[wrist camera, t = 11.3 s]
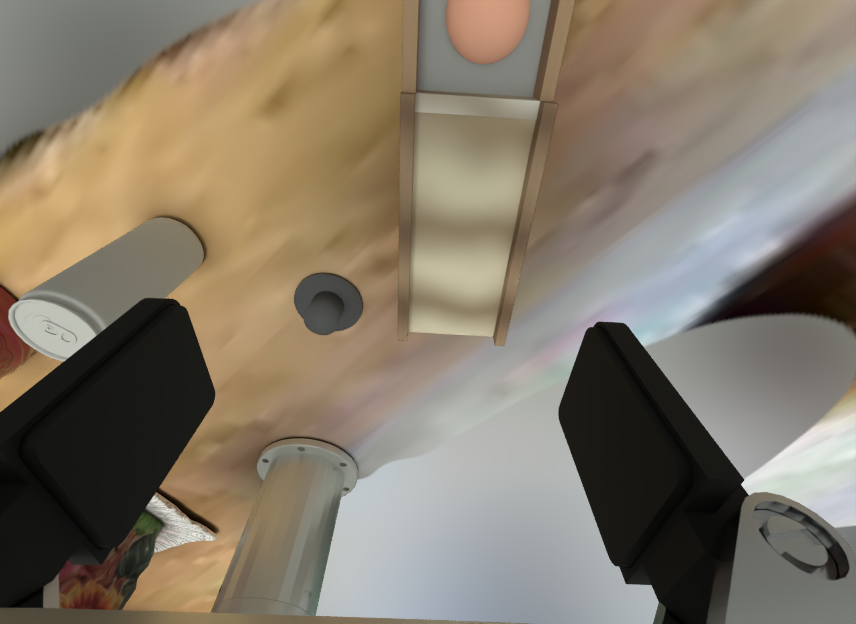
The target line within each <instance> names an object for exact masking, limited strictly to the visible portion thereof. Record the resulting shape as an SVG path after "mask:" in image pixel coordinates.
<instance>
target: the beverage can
mask: <svg viewBox="0 0 856 624" xmlns="http://www.w3.org/2000/svg"><path fill="white" fill-rule="evenodd" d="M203 259H204V252H203V248H202V245H201V243H200V241H199V239H198V237H197V236H196V235H195V234H194V232H193V231H192V230H191V229H189V228H188V227H187V226H186V225H184V224H182V223H180V222H179V221H176V220H173V219H170V218H162V217H159V218H153V219H151V220H149V221H147V222H145V223H143V224H142V225H140V226H138V227H137V228H135V229H133V230H132V231H130V232H128V233H127V234H125V235H123V236H121V237H120V238H118V239H116V240H115V241H113V242H111V243H110V244H108V245H106V246H105V247H103V248H101V249H100V250H98V251H96V252H95V253H93V254H91V255H89V256H88V257H86V258H84V259H83V260H81V261H79V262H78V263H76V264H74V265H73V266H71V267H69V268H68V269H66V270H64V271H63V272H61V273H59V274H57V275H56V276H54V277H52V278H51V279H49V280H47V281H46V282H44V283H42V284H41V285H39V286H37V287H36V288H34V289H32V290H30V291H29V292H27V293H25V294H24V295H22V297H21V298H20V299H19V301H18V302H16V303H14V304H13V305H12V307H11V308H10V309H9V316H8V318H9V321H10V324H11V326H12V328H13V329H14V331H15V332H16V334H17V335H18V336H19V337H20V338H21V339H22V340H23V341H24V342H25V343H27V344H28V345H29V346H31V347H32V348H34V349H35V350H37V351H39V352H40V353H42V354H44V355H46V356H49V357H51V358H54V359H56V360H60V361H65V360H67V359H68V358H69V357H70V356H72V355H73V354H74V353H75V352H77V351H78V350H79V349H80V348H82V347H83V346H84V345H85V344H87V343H88V342H89V341H90V340H92V339H93V338H94V337H95V336H97V335H98V334H99V333H100V332H102V331H103V330H104V329H105V328H107V327H108V326H109V325H110V324H112V323H113V322H114V321H115V320H117V319H118V318H119V317H120V316H122V315H123V314H124V313H125V312H127V311H128V310H129V309H130V308H132V307H133V306H134V305H135V304H137V303H138V302H139V301H140V300H142V299H144V298H164V299H165V298H166V297H167V296H168V295H169V294H170V293H171V292H172V291H173V290H175V289H176V288H177V287H178V286H179V285H180V284H181V283H182V282H183V281H184V280H185V279H187V278H188V277H189V276H190V275H191V274H192V273H193V272H194V271H195V270H196V269H197V268H198V267H199V266H200V265H201V264H202V262H203Z"/></svg>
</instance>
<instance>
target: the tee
mask: <svg viewBox="0 0 856 624" xmlns="http://www.w3.org/2000/svg"><path fill="white" fill-rule="evenodd" d="M294 303H295V307H296V309H297V311H298V313H299V314H300V315H301V317H302V318H303V319H304V323H305V325H306V327H307V328H308V329H309V330H310V331H312V332H313V333H316V334H319V335H328V334H331V333H333V332H334V331H341V330H345V329H347V328H349V327H351V326H353V325H354V324H355V323H356V322H357V321H358V319H359V318H360V315H361V312H362V307H363V304H362V298H361V296H360V293H359V292H358V290H357V289H356V288H355V286H354V285H353V284H352V283H350V282H349V281H348V280H346V279H345V278H343V277H340V276H338V275H335V274H331V273H317V274H313V275H310V276H308V277H306V278H305V279H304V280H302V281H301V283H300V284H299V285H298V287H297V289H296V291H295V295H294Z"/></svg>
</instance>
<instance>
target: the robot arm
mask: <svg viewBox="0 0 856 624" xmlns="http://www.w3.org/2000/svg"><path fill="white" fill-rule="evenodd" d="M214 400H215V389H214V386H213V383H212V380H211V378H210V375H209V372H208V369H207V366H206V363H205V360H204V357H203V354H202V352H201V349H200V346H199V343H198V340H197V337H196V334H195V331H194V328H193V325H192V323H191V320H190V317H189V314H188V311H187V309H186V308H185V307H184V306H180V304H179V303H178V302H177V301H176V300H174V299H164V298H144V299H142V300H140V301H139V302H138V303H137V304H135V305H134V306H133V307H132V308H130V309H129V310H128V311H127V312H125V313H124V314H123V315H122V316H120V317H119V318H118V319H117V320H115V321H114V322H113V323H112V324H110V325H109V326H108V327H107V328H105V329H104V330H103V331H102V332H100V333H99V334H98V335H97V336H95V337H94V338H93V339H92V340H90V341H89V342H88V343H87V344H85V345H84V346H83V347H82V348H80V349H79V350H78V351H77V352H75V353H74V354H73V355H72V356H70V357H69V358H68V359H67V360H65V361H64V362H63V363H62V364H60V365H59V366H58V367H57V368H55V369H54V370H53V371H52V372H50V373H49V374H48V375H47V376H45V377H44V378H43V379H42V380H40V381H39V382H38V383H37V384H35V385H34V386H33V387H32V388H30V389H29V390H28V391H27V392H25V393H24V394H23V395H21V396H20V397H19V398H18V399H16V400H15V401H14V402H13V403H11V404H10V405H9V406H8V407H6V408H5V409H4V410H3V411H1V412H0V624H527V623H500V622H475V621H473V622H472V621H448V620H420V619H391V618H389V619H388V618H359V617H330V616H316V610H317V606H318V602H319V597H320V592H321V588H322V583H323V578H324V574H325V569H326V565H327V560H328V555H329V551H330V546H331V541H332V537H333V532H334V527H335V522H336V518H337V514H338V509H339V504H340V499H341V497H342V496H345V495H346V494H348V493H349V492H351V490H352V489H353V488H354V487H355V485H356V483H357V477H358V469H357V466H356V464H355V462H354V461H353V460H352V458H351V457H350V456H349V455H347V454H346V453H345V452H344V451H342V450H340V449H339V448H337V447H335V446H333V445H331V444H328V443H325V442H322V441H318V440H312V439H303V438H294V439H286V440H281V441H278V442H275V443H273V444H271V445H269V446H267V447H266V448H265V449H264V450H263V451H262V453H261V455H260V457H259V459H258V462H257V471H258V474H259V476H260V477H261V479H262V480H263V484H262V486H261V489H260V491H259V494H258V496H257V499H256V501H255V504H254V506H253V508H252V511H251V513H250V516H249V518H248V521H247V523H246V526H245V528H244V531H243V533H242V536H241V538H240V541H239V543H238V546H237V548H236V551H235V553H234V556H233V558H232V560H231V563H230V565H229V568H228V570H227V573H226V575H225V578H224V580H223V583H222V585H221V588H220V590H219V593H218V595H217V598H216V600H215V603H214V605H213V608H212V610H211V613H203V612H167V611H130V610H94V609H60V608H59V572H60V570H61V569H62V568H63V566H64V565H65V564H66V562H67V561H69V562H70V563H71V564H73V565H102V564H103V562H104V561H105V559H106V558H107V556H108V555H109V553H110V552H111V550H112V549H113V548H115V547H117V546H119V545H120V544H121V543H122V542H123V541H124V540H125V539H126V537H127V536H128V534H129V533H130V531H131V530H132V528H133V527H134V525H135V524H136V522H137V521H138V519H139V518H140V516H141V514H142V513H143V511H144V510H145V508H146V507H147V505H148V504H149V502H150V501H151V499H152V498H153V496H154V494H155V493H156V491H157V490H158V488H159V487H160V485H161V484H162V482H163V481H164V479H165V477H166V476H167V474H168V473H169V471H170V470H171V468H172V467H173V465H174V464H175V462H176V461H177V459H178V457H179V456H180V454H181V453H182V451H183V450H184V448H185V447H186V445H187V444H188V442H189V441H190V439H191V437H192V436H193V434H194V433H195V431H196V430H197V428H198V427H199V425H200V424H201V422H202V421H203V419H204V417H205V416H206V414H207V413H208V411H209V410H210V408H211V407H212V405H213V403H214ZM559 421H560V424H561V427H562V429H563V432H564V435H565V438H566V440H567V443H568V446H569V448H570V451H571V454H572V457H573V460H574V462H575V465H576V468H577V471H578V473H579V476H580V479H581V482H582V484H583V487H584V490H585V492H586V495H587V498H588V501H589V504H590V506H591V509H592V512H593V514H594V517H595V520H596V523H597V526H598V528H599V531H600V534H601V537H602V539H603V542H604V545H605V548H606V551H607V553H608V556H609V558H610V560H611V561H612V563H613V564H614V565H615V566H619V567H620V569H621V572H622V575H623V577H624V580H625V583H626V584H640V585H641V584H642V585H652V587H653V589H654V591H655V594H656V596H657V599H658V601H659V604H658V607H657V611H656V615H655V618H654V622H653V624H856V554H855V552H854V550H853V549H852V547H851V546H850V544H849V543H848V542H847V541H846V540H845V539H844V538H843V537H842V536H841V534H839V532H838V531H837V530H836V529H835V528H834V527H833V526H831V525H830V524H829V523H828V522H826V521H825V520H824V519H823V518H821V517H820V516H819V515H818V514H816V513H815V512H813V511H811V510H810V509H808V508H806V507H805V506H803V505H801V504H800V503H798V502H795V501H793V500H791V499H788V498H786V497H784V496H781V495H776V494H772V493H768V492H761V493H753V494H751V495H748V494H747V492H746V491H745V490H744V488H743V487H742V486H741V484H742V482H743V481H744V479H743V477H742V476H741V475H740V473H739V472H738V471H737V470H736V468H735V467H734V466H733V464H732V463H731V462H730V460H729V459H728V458H727V456H725V454H724V452H723V451H722V450H721V448H720V447H719V446H718V445H717V443H716V442H715V441H714V439H713V438H712V437H711V435H710V434H709V433H708V431H707V430H706V429H705V427H704V426H703V425H702V424H701V422H700V421H699V420H698V418H697V417H696V416H695V414H694V413H693V412H692V410H691V409H690V408H689V406H688V405H687V404H686V402H685V401H684V400H683V399H682V397H681V396H680V395H679V393H678V392H677V391H676V389H675V388H674V387H673V386H672V384H671V383H670V381H669V380H668V379H667V378H666V376H665V375H664V374H663V372H662V371H661V370H660V368H659V367H658V366H657V364H656V363H655V362H654V360H653V359H652V358H651V356H650V355H649V354H648V352H647V351H646V350H645V348H644V347H643V346H642V345H641V343H640V342H639V341H638V339H637V338H636V337H635V335H634V334H633V333H632V331H631V330H630V329H629V327H628V326H627V325H626V324H624V323H615V322H597V323H596V324H595V325H594V327H590V328H588V329H587V330H586V332H585V335H584V338H583V341H582V344H581V346H580V349H579V352H578V355H577V358H576V361H575V363H574V366H573V369H572V372H571V375H570V377H569V381H568V383H567V386H566V389H565V392H564V395H563V397H562V400H561V403H560V406H559Z"/></svg>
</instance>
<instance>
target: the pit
mask: <svg viewBox="0 0 856 624" xmlns="http://www.w3.org/2000/svg"><path fill="white" fill-rule="evenodd" d="M447 2H448V0H403V68H402V92H413V93H416V91H417V90H429V91H444V92H459V93H475V94H490V95H505V96H520V97H533V98H535V99H537V100H539V101H550V102H553V100H554V95H555V91H556V86H557V82H558V77H559V72H560V68H561V63H562V58H563V54H564V49H565V45H566V40H567V35H568V31H569V26H570V21H571V17H572V12H573V8H574V3H575V0H530V14H529V20H528V25H527V28H526V31H525V33H524V35H523V37H522V39H521V41H520V42H519V44H518V45H517V47H516V48H515V49H514V50H513V51H512V52H511V53H510V54H509V55H508V56H506V57H505V58H503V59H502V60H500V61H498V62H495V63H491V64H476V63H473V62H471V61H469V60H467V59H465V58H464V57H463V56H461V55H460V54H459V53H458V51H457V50H456V49H455V47H454V46H453V44H452V42H451V40H450V37H449V34H448V31H447V26H446V7H447Z"/></svg>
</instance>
